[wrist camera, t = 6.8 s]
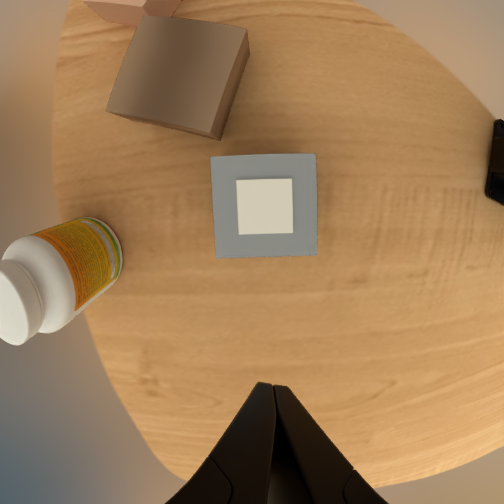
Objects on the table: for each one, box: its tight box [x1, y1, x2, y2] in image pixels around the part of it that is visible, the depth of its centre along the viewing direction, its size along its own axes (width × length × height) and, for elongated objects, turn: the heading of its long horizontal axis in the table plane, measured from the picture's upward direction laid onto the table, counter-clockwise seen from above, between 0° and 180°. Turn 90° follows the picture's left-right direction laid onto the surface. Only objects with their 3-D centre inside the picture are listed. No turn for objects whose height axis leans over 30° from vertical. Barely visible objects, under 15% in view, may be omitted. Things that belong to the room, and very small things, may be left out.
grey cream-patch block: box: [210, 154, 317, 258], centre depth 16 cm, size 5×5×4 cm
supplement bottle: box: [0, 217, 122, 345], centre depth 15 cm, size 5×5×10 cm
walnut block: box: [106, 16, 250, 141], centre depth 15 cm, size 6×6×4 cm
